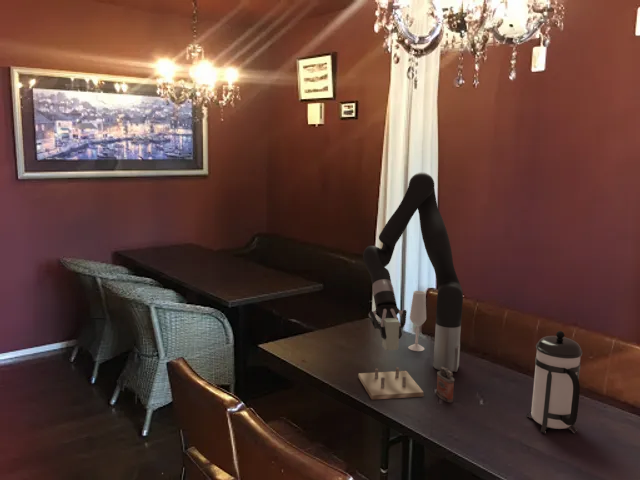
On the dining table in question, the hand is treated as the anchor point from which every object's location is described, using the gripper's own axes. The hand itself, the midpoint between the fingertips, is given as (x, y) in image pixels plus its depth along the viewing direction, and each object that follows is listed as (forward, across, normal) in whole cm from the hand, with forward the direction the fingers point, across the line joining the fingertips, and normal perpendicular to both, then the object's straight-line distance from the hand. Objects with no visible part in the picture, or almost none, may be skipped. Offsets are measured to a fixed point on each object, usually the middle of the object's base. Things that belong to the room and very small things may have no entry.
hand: (392, 338), depth 194 cm
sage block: (+2, 0, +4) cm, 5 cm away
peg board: (+13, 0, +13) cm, 18 cm away
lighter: (+20, +16, +6) cm, 26 cm away
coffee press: (+37, +42, -11) cm, 57 cm away
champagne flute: (-12, +22, +37) cm, 45 cm away
